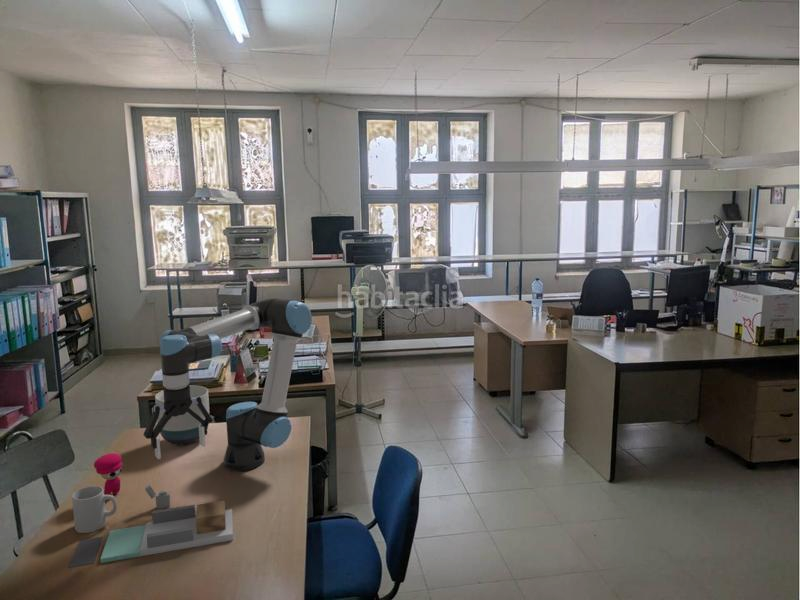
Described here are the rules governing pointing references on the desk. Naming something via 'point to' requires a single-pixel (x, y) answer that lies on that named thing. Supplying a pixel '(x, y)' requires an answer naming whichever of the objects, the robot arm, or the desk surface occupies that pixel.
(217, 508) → the block
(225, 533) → the plate
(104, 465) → the toy
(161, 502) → the lighter
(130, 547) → the tile
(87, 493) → the mug
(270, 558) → the desk surface
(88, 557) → the mat
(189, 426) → the planter
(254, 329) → the robot arm
